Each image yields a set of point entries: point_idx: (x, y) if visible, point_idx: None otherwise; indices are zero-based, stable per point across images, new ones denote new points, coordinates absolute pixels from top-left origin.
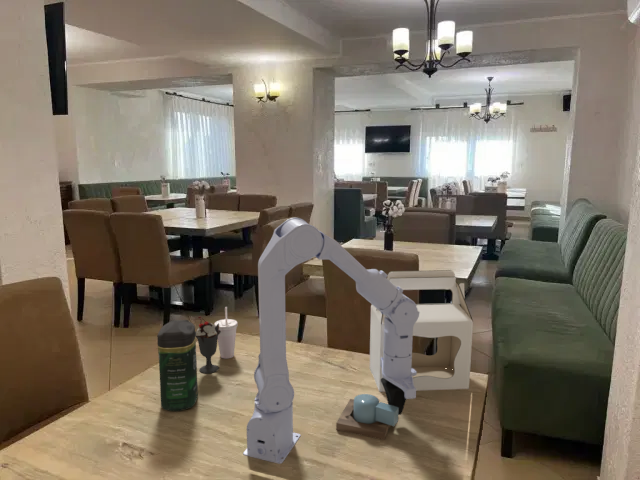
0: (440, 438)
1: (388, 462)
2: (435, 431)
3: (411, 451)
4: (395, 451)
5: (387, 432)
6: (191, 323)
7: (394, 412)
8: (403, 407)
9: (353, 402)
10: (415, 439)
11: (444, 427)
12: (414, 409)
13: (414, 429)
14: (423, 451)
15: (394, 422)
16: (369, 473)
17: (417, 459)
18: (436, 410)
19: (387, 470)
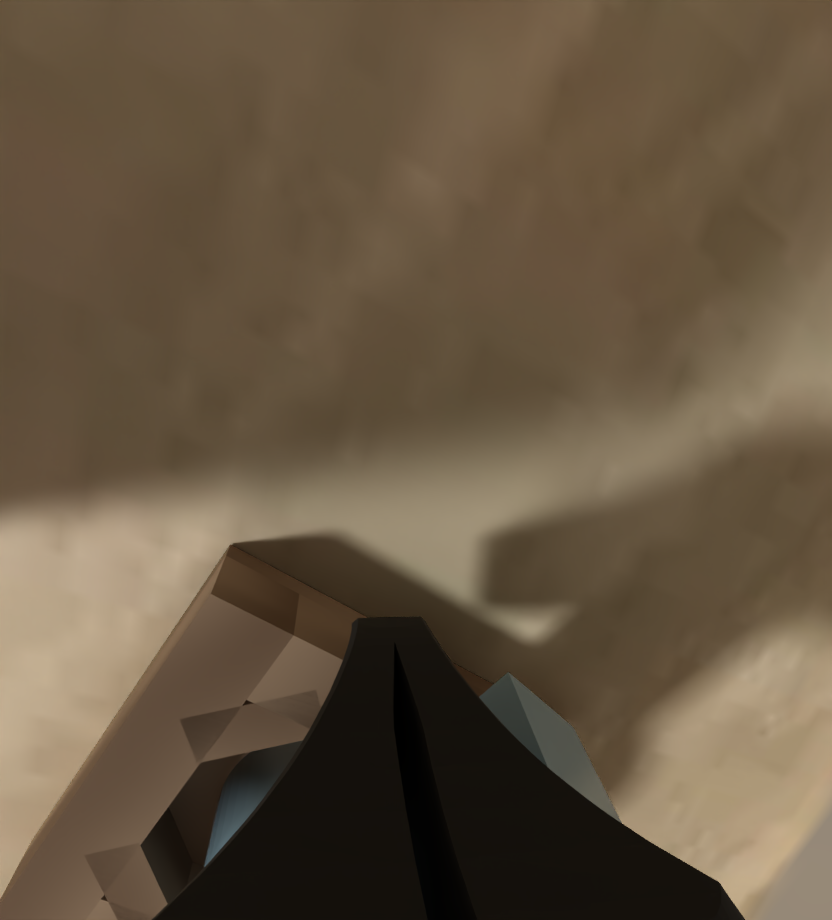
0: (692, 286)
1: (755, 753)
2: (582, 276)
3: (730, 590)
4: (683, 687)
5: None
6: None
7: None
8: (444, 654)
9: (65, 912)
10: (619, 507)
11: (555, 136)
12: (138, 296)
13: (489, 456)
14: (769, 510)
15: (580, 749)
16: (784, 858)
17: (819, 584)
18: (200, 17)
19: (811, 775)
